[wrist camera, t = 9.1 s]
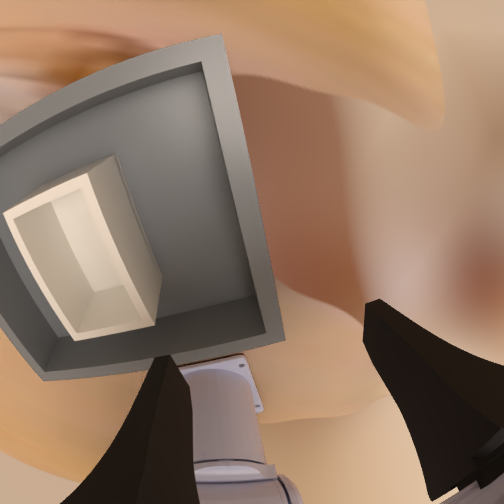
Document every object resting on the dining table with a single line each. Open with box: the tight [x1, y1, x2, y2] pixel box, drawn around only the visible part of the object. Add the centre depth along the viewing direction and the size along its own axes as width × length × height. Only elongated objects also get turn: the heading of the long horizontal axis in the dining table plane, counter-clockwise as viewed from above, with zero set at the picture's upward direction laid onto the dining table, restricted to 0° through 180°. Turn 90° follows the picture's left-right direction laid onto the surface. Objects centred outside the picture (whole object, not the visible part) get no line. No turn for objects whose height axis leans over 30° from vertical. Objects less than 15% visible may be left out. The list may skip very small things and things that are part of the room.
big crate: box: [0, 34, 286, 381], centre depth 15 cm, size 16×18×4 cm
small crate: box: [3, 153, 163, 341], centre depth 14 cm, size 8×5×4 cm, turn 12°
